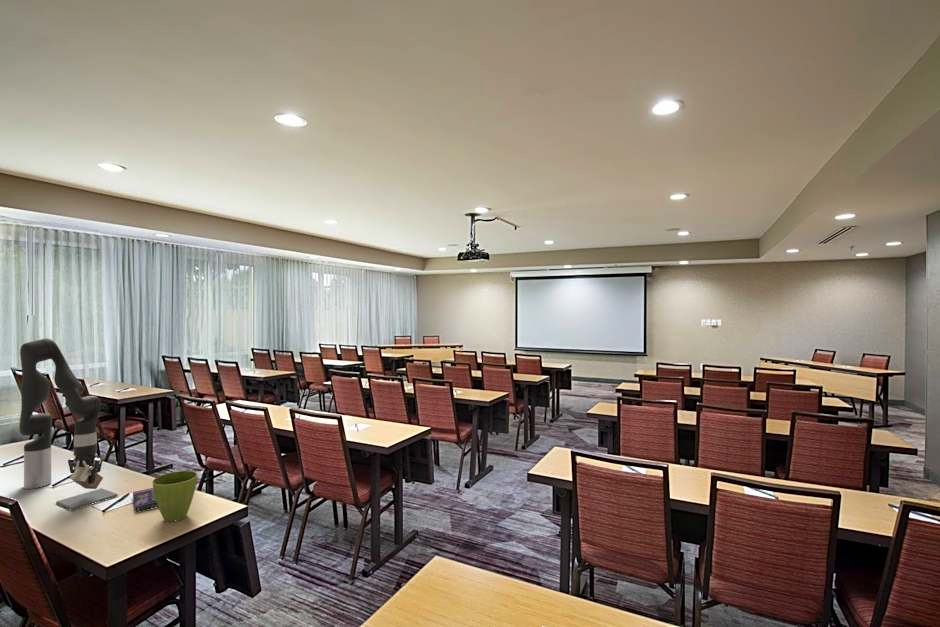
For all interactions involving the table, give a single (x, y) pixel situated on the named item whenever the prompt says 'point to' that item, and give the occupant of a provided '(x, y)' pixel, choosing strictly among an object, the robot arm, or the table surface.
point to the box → (144, 499)
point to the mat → (86, 499)
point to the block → (85, 478)
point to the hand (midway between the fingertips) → (85, 482)
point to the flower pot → (174, 493)
